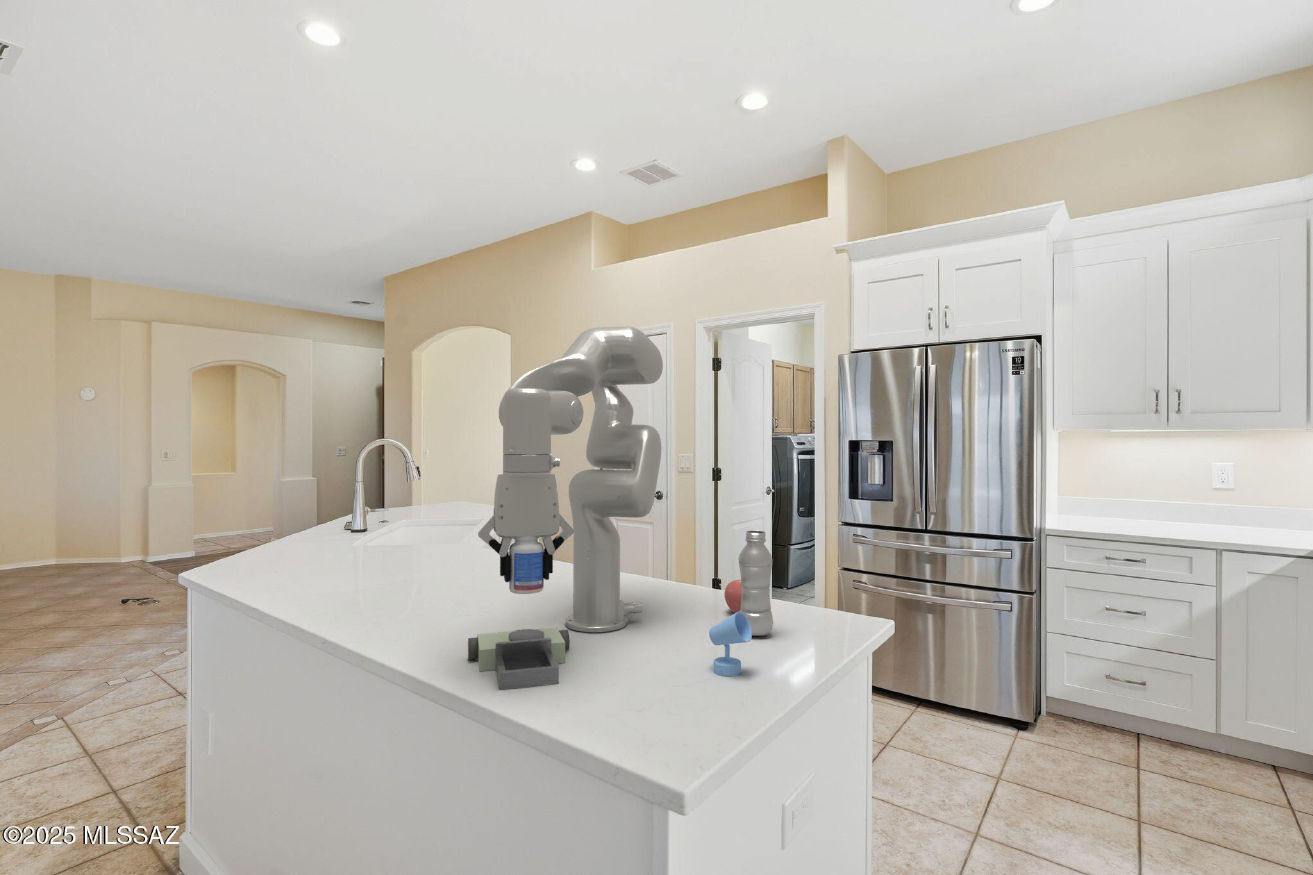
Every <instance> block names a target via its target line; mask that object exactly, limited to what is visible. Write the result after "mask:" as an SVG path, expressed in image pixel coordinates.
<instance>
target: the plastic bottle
mask: <svg viewBox="0 0 1313 875" xmlns="http://www.w3.org/2000/svg"><path fill="white" fill-rule="evenodd" d="M745 542H746V544H745V546H744V547H743V548H742V549H741V551H740V553H739V555H738V567H739V572H740V573H739V574H740V580H741V585H742V596H741V609H740V612H742V613H743V614H744V615H745V616H746V617H747V619H748V620H749V623H750V625H751V629H752V636H753V637H763V636H764V637H765V636H767V635H770V634H771V632H772V631H773V627H774V617H773V613H772V606H771V597H770V593H771V590H770V587H771V574H772V568H773V558H772V557H773V556H772V554H771V553H770V550H769V549H768V547H767V546H766V545H765V543H766V542H767V539H766V531H763V530H747V531H746V532H745Z"/></svg>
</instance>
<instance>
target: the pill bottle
mask: <svg viewBox="0 0 1313 875" xmlns="http://www.w3.org/2000/svg"><path fill="white" fill-rule="evenodd" d="M513 539H514V542H513V543H511V544H510V546H509V549H508V552H509V556H510V581H509V582H508V583H509V585H508V588H509V592H510V593H512V594H515V595H530V594H538V593H541V592H542V591H544V585H545V584H544V582H545V579H544V549H545V547H544V544H542V543H541V542H540V541H539V540H538V539H540V537H533V536H524V537H521V538H513Z"/></svg>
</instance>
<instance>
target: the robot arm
mask: <svg viewBox="0 0 1313 875" xmlns="http://www.w3.org/2000/svg"><path fill="white" fill-rule="evenodd" d="M663 362H664V361H663V357H662V354H661V352H660V350H659V348H658V347H657V345H656V344H655V342H653V341H652V340H651V339H650V338H649V337H648V335H647V334H645V333H644V332H643V331H642V330H640V329H638V328H636V327H633V326H629V325H628V326H606V327H605V326H604V327H593V328H589V329H587V330H583V332H581V333H580V334H579V335H578V337H577V338H576V339H575V340H574V341H573V342H572V343H571V345H570V347H569V348H568V349H567V350H566V351H565V352H564V353H563V355H562V356H561V357H559V358H557V359H555V360H552V361H550V362H548V363H546V364H543V365H541V366H539V367H536V368H535V369H533V370H532V369H531V370H530V371H528V372H526V373H525V374H523V375H521V376H520V377H519V378H518V379H516V380H515V381H514V382H513V383H512V385H511V386H510V387H509V388H508V389H507V390H506V391H505V393H504V394H503V396H502V399H501V401H500V403H499V407H498V419H499V422H500V426H502V454H503V455H502V473H501V474H497V477H496V483H495V490H494V498H493V499H494V501H493V514H492V516H491V517H490V519H489V520H488V521H487V522H486V523H485V524H484V525H483V526H482V528H480V529H479V531H478V532H477V535H478V538H479V539H480V540H482V541H483V542H484V543H485V544H487V545H488V546H489V547H490V548H492V549H493V550H494V552H496V553H497V554H498V555H499V576H500V577H503V579H504V581H505V583H509V581H510V556H509V548H510V546H511V544H512V540H513V539H514V538H521V537H524V536H533V537H539V538H540V539H541V540H542V542H543V544H542V545H543V548H544V581H548V580H550V574H553V572H554V570H553V567H554V554H555V553H556V551H557V550H558V549H559V548H560V547H561V546H562V545H563V543H565V541H566V540H568V539H569V538H570V537H571V536H572V535H573V537H572V538H573V541H572V543H573V544H572V545H573V549H572V552H573V554H572V556H573V558H572V559H573V562H572V563H573V565H572V566H573V568H572V570H573V573H572V574H573V578H572V579H573V581H572V582H573V583H572V584H573V585H572V586H573V588H572V590H573V592H572V597H573V598H572V600H573V601H572V602H573V604H572V612H573V613H572V614H570V615H568V616H567V617H566V618H565V626H566V627H567V628H568V629H571V630H573V631H576V632H577V631H578V632H582V633H605V632H612V631H617V630H620V629H623V628H624V627H626V625H628V617H627V616H629V614H634V615H635V614H642V613H643V611H644V607H643V606H644V605H643V604H642V602H641V603H634V602H627V603H624V601H622V600H621V538H620V534H619V532H618V530H617V527H616V526H615V524H614V523H613V522H612V519H611V518H630V519H631V518H644V517H646V516H648V515H649V514H650V513H651V511H652V510H653V509H652V508H653V506H654V501H655V496H656V489H657V484H658V478H659V472H660V465H661V460H662V459H661V458H662V440H661V439H662V438H661V436H660V433H659V432H658V430H657V429H656V428H655V427H653V426H651V425H649V424H632V423H633V418H634V407H633V405H632V404H631V402H630V400H629V399H628V397H627V396H626V395H625V394H624V393H623V391H621V390H620V389H619V387H618V386H621V385H622V386H625V385H626V386H627V385H651V384H654V383H657V382H658V380H660V378H661V376H662V374H663V367H664V364H663ZM589 393H591V394H592V398H593V402H594V412H593V417H592V421H591V425H590V430H589V434H588V439H587V444H586V450H585V451H586V452H585V453H586V454H585V457H586V460H587V462H588V463H589V465H590V466H592V467H594V468H595V469H593V468H592V469H584V470H581V471H579V472H577V473H576V474H574V475H573V477H572V478H571V480H570V481H569V484H568V499H569V505H570V510H571V515H572V525H570V524H569V523H568V521H566V519H564V517H563V516H562V515H561V514H560V506H559V493H558V492H559V491H558V486H557V479H556V474H555V473H552V469H554V468H556V467H558V468H559V467H560V466H561V460H560V458H556V457H553V456H552V454H551V453H552V451H551V450H552V436H554V435H555V436H557V435H558V436H559V435H561V436H562V435H568V434H572V433H573V432H575V431H576V430H577V429H579V427H580V426H581V424H582V423H583V419H584V406H583V404H582V402H581V400H580V398H579V397H582V396H584V395H587V394H589ZM596 468H597V469H596ZM560 528H561V532H560V533H559V531H560ZM492 530H494V533H495V534H496V536H498V537H499V538H501V541H500V542H499V541H498V539H496V538H494V537H493V536H492V535H491V534H490V533H491V532H492ZM558 533H559V534H558ZM557 534H558V535H557ZM555 535H556V536H555ZM552 536H555V537H554V538H553V539H552Z"/></svg>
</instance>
